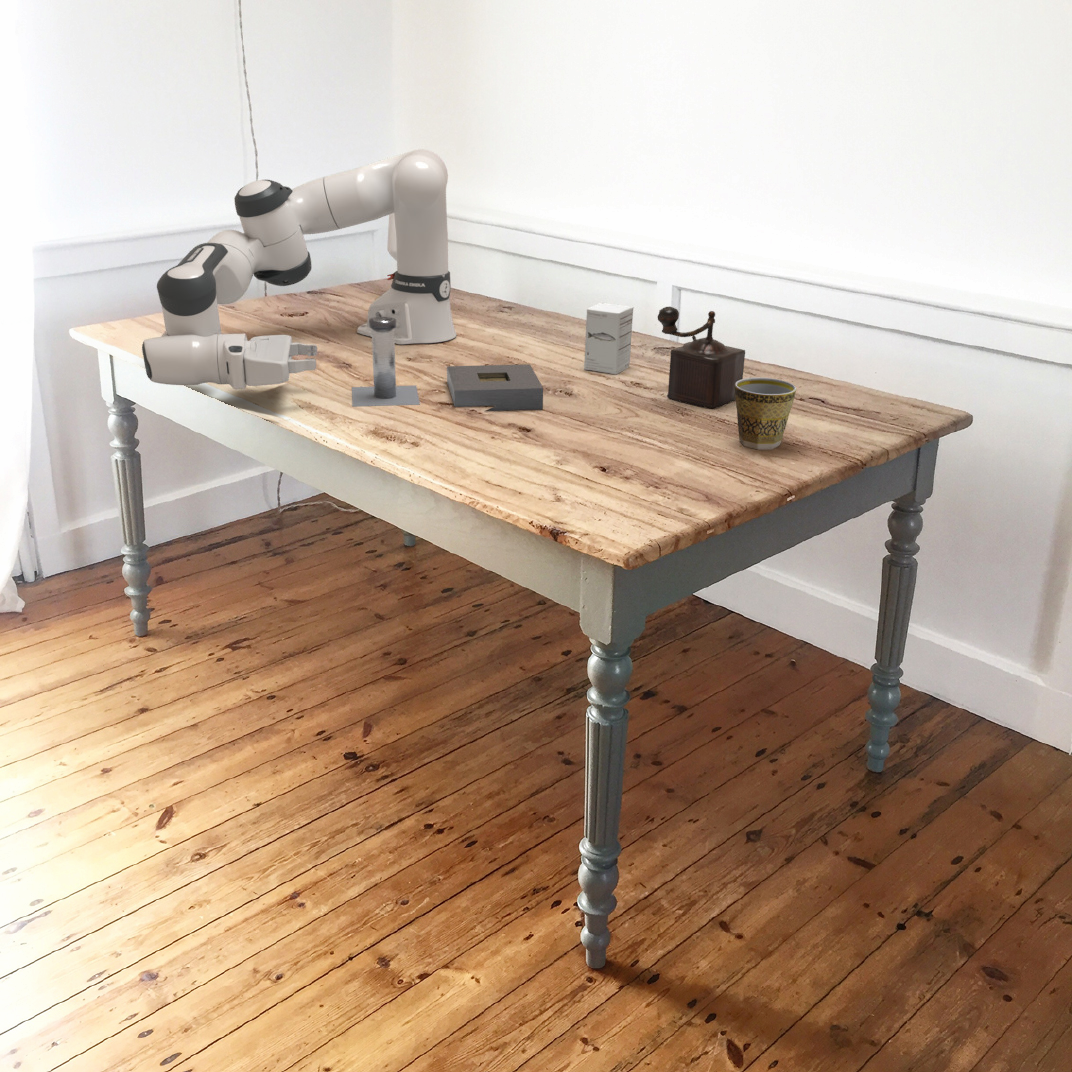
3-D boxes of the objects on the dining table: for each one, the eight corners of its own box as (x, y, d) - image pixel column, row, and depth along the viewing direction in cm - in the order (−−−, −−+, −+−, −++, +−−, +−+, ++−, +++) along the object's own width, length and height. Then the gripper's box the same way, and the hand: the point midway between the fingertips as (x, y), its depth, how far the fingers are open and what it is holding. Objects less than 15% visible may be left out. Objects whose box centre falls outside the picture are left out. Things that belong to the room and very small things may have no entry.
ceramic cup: (797, 452, 189) (804, 394, 185) (738, 453, 188) (743, 395, 184) (774, 427, 201) (780, 372, 197) (718, 428, 200) (723, 372, 196)
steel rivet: (366, 396, 210) (363, 320, 204) (383, 390, 214) (380, 315, 208) (387, 400, 207) (384, 324, 202) (403, 394, 211) (401, 319, 206)
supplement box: (582, 370, 232) (585, 308, 227) (598, 362, 238) (600, 301, 233) (616, 375, 229) (619, 312, 224) (631, 367, 235) (634, 305, 230)
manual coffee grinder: (693, 386, 223) (700, 293, 216) (742, 397, 217) (751, 303, 210) (647, 403, 212) (653, 307, 205) (697, 416, 206) (705, 317, 199)
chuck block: (454, 412, 206) (454, 390, 204) (447, 386, 220) (446, 366, 218) (542, 409, 208) (543, 388, 206) (529, 384, 222) (530, 364, 221)
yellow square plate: (481, 391, 210) (481, 386, 210) (478, 383, 215) (478, 378, 215) (508, 390, 211) (508, 385, 211) (505, 383, 216) (505, 378, 215)
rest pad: (352, 411, 205) (352, 406, 204) (352, 392, 215) (351, 387, 215) (420, 409, 206) (420, 404, 206) (416, 390, 217) (416, 385, 217)
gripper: (243, 360, 214) (318, 358, 216) (234, 392, 196) (316, 390, 198) (240, 327, 212) (316, 325, 214) (230, 356, 193) (314, 354, 195)
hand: (316, 357), depth 206 cm, fingers open, 8 cm apart
